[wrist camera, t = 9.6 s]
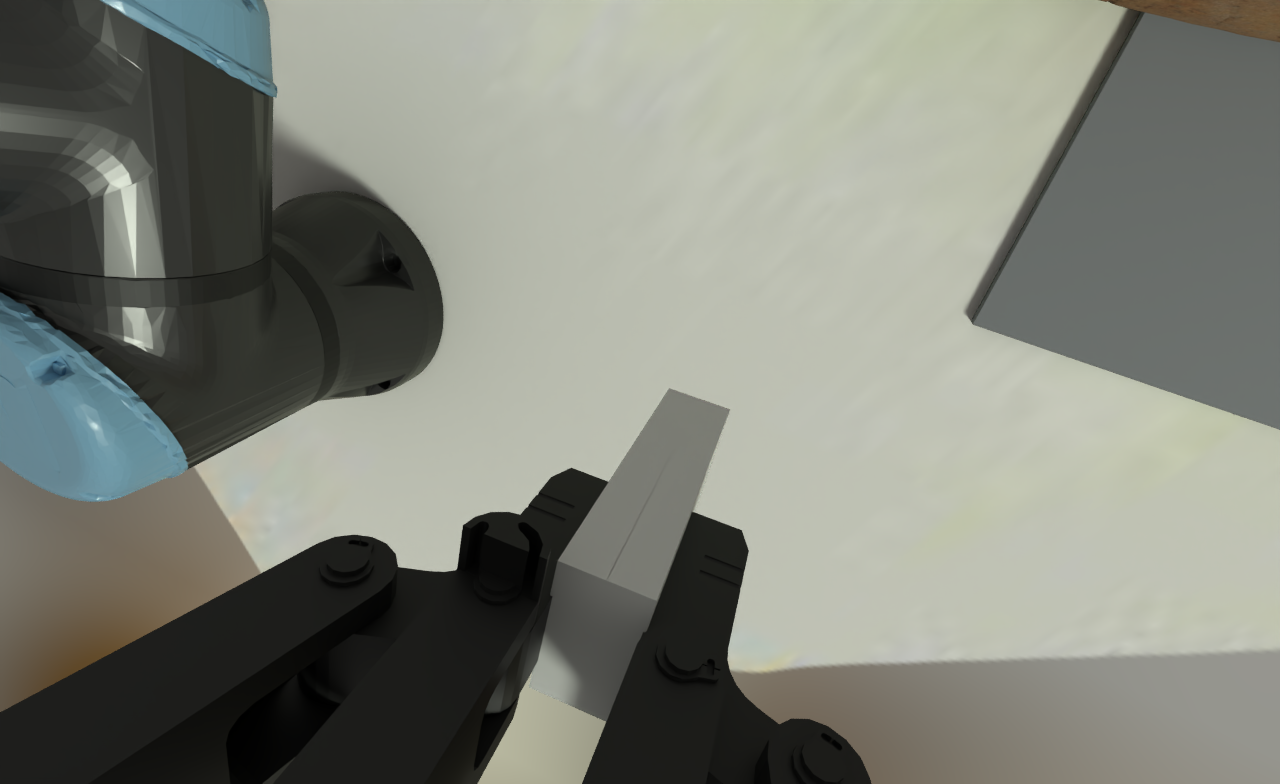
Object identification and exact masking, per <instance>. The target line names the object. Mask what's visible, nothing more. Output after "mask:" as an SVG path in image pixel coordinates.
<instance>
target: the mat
mask: <svg viewBox="0 0 1280 784" xmlns="http://www.w3.org/2000/svg"><path fill="white" fill-rule="evenodd" d="M971 322H972V324H973V325H976V326H979V327H982V328H985V329H988V330H991V331H994V332H996V333H999V334H1002V335H1005V336H1008V337H1011V338H1014V339H1017V340H1020V341H1023V342H1026V343H1029V344H1031V345H1034V346H1037V347H1040V348H1043V349H1046V350H1049V351H1052V352H1055V353H1058V354H1061V355H1064V356H1066V357H1069V358H1072V359H1075V360H1078V361H1081V362H1084V363H1087V364H1090V365H1093V366H1096V367H1099V368H1101V369H1104V370H1107V371H1110V372H1113V373H1116V374H1119V375H1122V376H1125V377H1128V378H1131V379H1134V380H1136V381H1139V382H1142V383H1145V384H1148V385H1151V386H1154V387H1157V388H1160V389H1163V390H1166V391H1169V392H1171V393H1174V394H1177V395H1180V396H1183V397H1186V398H1189V399H1192V400H1195V401H1198V402H1201V403H1204V404H1206V405H1209V406H1212V407H1215V408H1218V409H1221V410H1224V411H1227V412H1230V413H1233V414H1236V415H1239V416H1241V417H1244V418H1247V419H1250V420H1253V421H1256V422H1259V423H1262V424H1265V425H1268V426H1271V427H1274V428H1276V429H1279V430H1280V42H1275V41H1270V40H1265V39H1259V38H1254V37H1249V36H1243V35H1239V34H1235V33H1231V32H1227V31H1223V30H1219V29H1214V28H1209V27H1204V26H1199V25H1194V24H1190V23H1186V22H1182V21H1178V20H1174V19H1171V18H1166V17H1162V16H1158V15H1154V14H1149V13H1145V12H1141V13H1140V15H1139V17H1138V19H1137V20H1136V22H1135V24H1134V26H1133V28H1132V29H1131V31H1130V33H1129V35H1128V37H1127V39H1126V40H1125V42H1124V44H1123V46H1122V48H1121V49H1120V51H1119V53H1118V55H1117V57H1116V59H1115V60H1114V62H1113V64H1112V66H1111V68H1110V70H1109V71H1108V73H1107V75H1106V77H1105V79H1104V80H1103V82H1102V84H1101V86H1100V88H1099V90H1098V91H1097V93H1096V95H1095V97H1094V99H1093V100H1092V102H1091V104H1090V106H1089V108H1088V110H1087V111H1086V113H1085V115H1084V117H1083V119H1082V121H1081V122H1080V124H1079V126H1078V128H1077V130H1076V131H1075V133H1074V135H1073V137H1072V139H1071V141H1070V142H1069V144H1068V146H1067V148H1066V150H1065V151H1064V153H1063V155H1062V157H1061V159H1060V161H1059V162H1058V164H1057V166H1056V168H1055V170H1054V172H1053V173H1052V175H1051V177H1050V179H1049V181H1048V182H1047V184H1046V186H1045V188H1044V190H1043V192H1042V193H1041V195H1040V197H1039V199H1038V201H1037V203H1036V204H1035V206H1034V208H1033V210H1032V212H1031V213H1030V215H1029V217H1028V219H1027V221H1026V223H1025V224H1024V226H1023V228H1022V230H1021V232H1020V233H1019V235H1018V237H1017V239H1016V241H1015V243H1014V244H1013V246H1012V248H1011V250H1010V252H1009V254H1008V255H1007V257H1006V259H1005V261H1004V263H1003V264H1002V266H1001V268H1000V270H999V272H998V274H997V275H996V277H995V279H994V281H993V283H992V284H991V286H990V288H989V290H988V292H987V294H986V295H985V297H984V299H983V301H982V303H981V305H980V306H979V308H978V310H977V312H976V314H975V315H974V317H973V319H972V321H971Z"/></svg>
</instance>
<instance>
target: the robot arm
mask: <svg viewBox="0 0 1280 784" xmlns="http://www.w3.org/2000/svg"><path fill="white" fill-rule="evenodd" d="M273 97H276V98H277V87H276V85H275V84H274V83H273V74H272V57H271V40H270V21H269V14H268V11H267V7H266V5H265V2H264V0H0V461H1V462H2V463H3V464H5V465H6V466H7V467H9V468H10V469H12V470H13V471H14V472H16V473H17V474H18V475H20V476H22V477H23V478H25V479H27V480H28V481H30V482H32V483H34V484H35V485H37V486H39V487H41V488H43V489H45V490H47V491H49V492H52V493H54V494H57V495H59V496H62V497H66V498H70V499H74V500H80V501H90V502H97V501H107V500H112V499H116V498H120V497H123V496H125V495H127V494H130V493H132V492H134V491H137V490H139V489H141V488H144V487H146V486H148V485H151V484H153V483H155V482H158V481H160V480H162V479H165V478H172V477H175V476H178V475H180V474H181V473H184V471H186V470H188V469H189V468H191V467H193V466H195V465H197V464H199V463H201V462H203V461H205V460H206V459H208V458H210V457H212V456H214V455H216V454H218V453H220V452H222V451H223V450H225V449H227V448H229V447H231V446H233V445H235V444H237V443H238V442H240V441H242V440H244V439H246V438H248V437H250V436H252V435H254V434H255V433H257V432H259V431H261V430H263V429H265V428H267V427H269V426H271V425H272V424H274V423H276V422H278V421H280V420H282V419H284V418H286V417H288V416H289V415H291V414H293V413H295V412H297V411H299V410H301V409H303V408H305V407H307V406H309V405H311V404H313V403H315V402H317V401H320V400H330V399H340V398H349V397H359V396H368V395H376V394H380V393H384V392H387V391H390V390H392V389H394V388H396V387H398V386H400V385H402V384H403V383H405V382H407V381H409V380H411V379H412V378H414V377H415V376H417V375H418V374H419V373H421V372H422V371H423V370H424V369H425V368H426V367H427V365H428V364H429V363H430V361H431V360H432V358H433V357H434V355H435V353H436V351H437V348H438V345H439V342H440V339H441V335H442V329H443V303H442V296H441V291H440V287H439V283H438V280H437V277H436V274H435V271H434V269H433V266H432V264H431V262H430V260H429V258H428V256H427V254H426V252H425V251H424V249H423V247H422V246H421V244H420V243H419V241H418V240H417V239H416V237H415V236H414V235H413V233H412V232H411V231H410V230H409V229H408V227H407V226H406V225H405V224H404V223H403V222H402V221H401V220H400V219H399V218H397V217H396V216H395V215H394V214H393V213H391V212H390V211H389V210H387V209H386V208H385V207H383V206H381V205H380V204H378V203H376V202H374V201H372V200H371V199H368V198H366V197H363V196H360V195H357V194H353V193H349V192H339V191H335V192H324V193H315V194H308V195H303V196H299V197H296V198H293V199H291V200H289V201H287V202H285V203H283V204H281V205H280V206H279V207H278V208H276V209H275V210H274V211H272V129H273ZM729 411H730V409H727V408H724V407H721V406H719V405H716V404H713V403H710V402H707V401H704V400H701V399H698V398H695V397H693V396H690V395H687V394H684V393H681V392H678V391H675V390H672V389H670V388H669V390H668V391H667V393H666V394H665V396H664V397H663V399H662V400H661V402H660V403H659V405H658V407H657V408H656V410H655V411H654V413H653V414H652V416H651V417H650V419H649V420H648V422H647V424H646V425H645V427H644V428H643V430H642V431H641V433H640V434H639V436H638V437H637V439H636V441H635V442H634V444H633V445H632V447H631V448H630V450H629V451H628V453H627V454H626V456H625V458H624V459H623V461H622V462H621V464H620V465H619V467H618V468H617V470H616V471H615V473H614V475H613V476H612V478H611V479H610V481H609V482H607V481H605V480H602V479H599V478H597V477H594V476H592V475H589V474H586V473H584V472H581V471H578V470H576V469H573V468H570V469H568V470H566V471H564V472H561V473H559V474H557V475H555V476H553V477H551V478H550V479H549V481H548V482H547V483H546V484H545V485H544V487H543V488H542V489H541V490H540V492H539V494H538V495H536V496H535V498H534V499H533V500H532V501H531V503H530V504H529V506H528V508H526V509H525V510H524V511H523V512H522V514H521V515H519V514H515V513H510V512H491V513H487V514H484V515H480V516H477V517H474V518H473V519H472V520H470V521H469V522H467V523H466V524H464V525H463V530H462V538H461V545H460V553H459V560H458V568H457V570H456V571H448V572H433V571H423V570H416V569H408V568H400V567H398V565H397V559H396V554H395V553H394V552H393V550H392V549H391V548H390V547H389V546H388V545H387V544H386V543H384V542H382V541H379V540H377V539H375V538H373V537H368V536H360V535H348V536H339V537H334V538H331V539H328V540H326V541H323V542H320V543H318V544H316V545H314V546H312V547H310V548H308V549H306V550H304V551H303V552H301V553H299V554H297V555H295V556H293V557H291V558H289V559H288V560H286V561H284V562H282V563H280V564H278V565H276V566H274V567H273V568H271V569H269V570H267V571H265V572H263V573H261V574H259V575H258V576H256V577H254V578H252V579H250V580H248V581H246V582H244V583H243V584H241V585H239V586H237V587H235V588H233V589H231V590H229V591H227V592H226V593H224V594H222V595H220V596H218V597H216V598H214V599H212V600H211V601H209V602H207V603H205V604H203V605H201V606H199V607H198V608H196V609H194V610H192V611H190V612H188V613H186V614H184V615H183V616H181V617H179V618H177V619H175V620H173V621H171V622H169V623H167V624H165V625H164V626H162V627H160V628H158V629H156V630H154V631H152V632H150V633H149V634H147V635H145V636H143V637H141V638H139V639H137V640H136V641H134V642H132V643H130V644H128V645H126V646H124V647H122V648H120V649H119V650H117V651H115V652H113V653H111V654H109V655H107V656H105V657H103V658H102V659H100V660H98V661H96V662H95V663H92V664H91V665H88V666H87V667H85V668H83V669H81V670H79V671H77V672H75V673H74V674H72V675H70V676H68V677H66V678H64V679H62V680H60V681H58V682H57V683H55V684H53V685H51V686H49V687H47V688H45V689H43V690H42V691H40V692H38V693H36V694H34V695H32V696H30V697H28V698H27V699H25V700H23V701H21V702H19V703H17V704H15V705H13V706H11V707H10V708H8V709H6V710H4V711H2V712H0V784H477V783H478V781H479V780H480V778H481V776H482V774H483V772H484V770H485V769H486V767H487V765H488V763H489V761H490V759H491V757H492V756H493V754H494V752H495V750H496V748H497V747H498V745H499V743H500V741H501V739H502V737H503V736H504V734H505V732H506V730H507V728H508V727H509V725H510V723H511V721H512V719H513V717H514V713H515V710H516V707H517V704H518V698H519V694H520V692H521V690H522V688H523V687H524V685H525V683H526V681H527V679H528V678H529V676H530V674H531V672H532V671H533V672H532V676H531V681H530V685H529V687H530V688H532V689H534V690H536V691H539V692H541V693H543V694H545V695H548V696H550V697H552V698H554V699H557V700H559V701H561V702H564V703H566V704H568V705H570V706H573V707H575V708H577V709H579V710H582V711H584V712H586V713H588V714H590V715H593V716H595V717H597V718H600V719H602V720H604V721H606V724H605V727H604V729H603V732H602V734H601V737H600V739H599V742H598V745H597V747H596V749H595V752H594V755H593V757H592V760H591V762H590V765H589V767H588V770H587V772H586V775H585V777H584V780H583V783H582V784H871V780H870V778H869V775H868V773H867V771H866V768H865V766H864V764H863V762H862V760H861V758H860V756H859V755H858V754H857V753H856V752H855V750H854V749H853V748H852V747H851V745H850V744H849V743H848V742H847V740H846V739H844V738H843V737H841V736H840V735H838V733H836V732H835V731H834V730H832V729H831V728H829V727H828V726H826V725H823V724H820V723H818V722H815V721H813V720H810V719H790V720H788V721H786V722H784V723H782V724H778V723H777V722H775V721H774V720H773V719H771V718H770V717H769V716H767V715H766V714H765V713H763V712H762V711H761V710H760V709H758V708H757V707H756V706H755V705H754V704H753V703H752V702H751V701H749V700H748V699H747V698H746V697H745V696H744V694H743V693H742V692H741V690H740V689H739V688H738V686H737V685H736V683H735V681H734V679H733V677H732V675H731V673H730V670H729V665H728V661H727V657H728V646H729V641H730V637H731V632H732V627H733V622H734V618H735V613H736V608H737V604H738V599H739V594H740V588H741V585H742V580H743V575H744V574H743V573H744V570H745V566H746V561H747V556H748V552H749V550H748V547H747V544H746V542H745V539H744V536H743V533H742V530H739V529H737V528H734V527H732V526H729V525H726V524H724V523H721V522H718V521H716V520H713V519H710V518H708V517H705V516H702V515H700V514H697V513H695V510H696V507H697V505H698V502H699V499H700V496H701V493H702V490H703V487H704V484H705V481H706V479H707V476H708V473H709V470H710V467H711V464H712V461H713V458H714V455H715V452H716V449H717V446H718V443H719V441H720V438H721V435H722V432H723V429H724V426H725V423H726V420H727V417H728V414H729Z"/></svg>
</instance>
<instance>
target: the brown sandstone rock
mask: <svg viewBox="0 0 1280 784" xmlns="http://www.w3.org/2000/svg"><path fill="white" fill-rule="evenodd" d="M1100 1H1105V2H1107V1H1108V2H1110V3H1112V4H1115V5H1118V6H1122V7H1125V8H1129V9H1133V10H1137V11H1141V12H1145V13H1149V14H1154V15H1158V16H1162V17H1166V18H1171V19H1174V20H1178V21H1182V22H1186V23H1190V24H1194V25H1199V26H1204V27H1209V28H1214V29H1219V30H1223V31H1227V32H1231V33H1235V34H1239V35H1243V36H1249V37H1254V38H1259V39H1265V40H1270V41H1275V42H1280V0H1100Z"/></svg>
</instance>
